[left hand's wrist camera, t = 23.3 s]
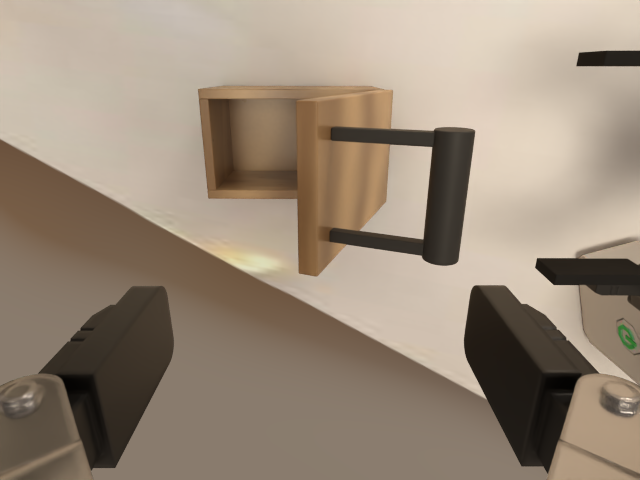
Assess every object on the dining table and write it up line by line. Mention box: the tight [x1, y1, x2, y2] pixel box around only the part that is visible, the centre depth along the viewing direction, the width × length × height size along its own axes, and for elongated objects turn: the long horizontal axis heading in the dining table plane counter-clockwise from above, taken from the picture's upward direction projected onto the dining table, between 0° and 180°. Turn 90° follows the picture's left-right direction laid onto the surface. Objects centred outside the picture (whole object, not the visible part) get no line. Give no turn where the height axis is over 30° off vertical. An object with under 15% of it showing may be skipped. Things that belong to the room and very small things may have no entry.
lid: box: [296, 90, 475, 276], centre depth 28 cm, size 16×9×8 cm
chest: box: [198, 86, 384, 199], centre depth 41 cm, size 16×9×9 cm, turn 90°
